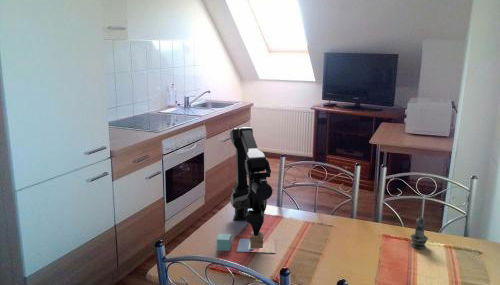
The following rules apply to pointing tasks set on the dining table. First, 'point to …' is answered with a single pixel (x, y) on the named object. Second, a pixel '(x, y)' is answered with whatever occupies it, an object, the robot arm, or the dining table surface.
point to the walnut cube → (256, 240)
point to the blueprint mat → (244, 246)
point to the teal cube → (224, 242)
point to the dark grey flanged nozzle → (419, 235)
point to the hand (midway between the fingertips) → (257, 230)
